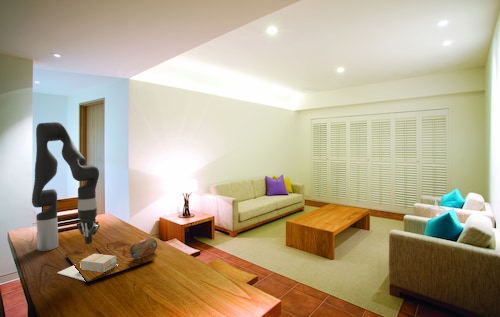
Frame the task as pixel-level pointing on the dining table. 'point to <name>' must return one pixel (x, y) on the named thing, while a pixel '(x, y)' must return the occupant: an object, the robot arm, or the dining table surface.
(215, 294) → the dining table surface
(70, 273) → the felt mat
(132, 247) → the tin
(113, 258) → the supplement box
